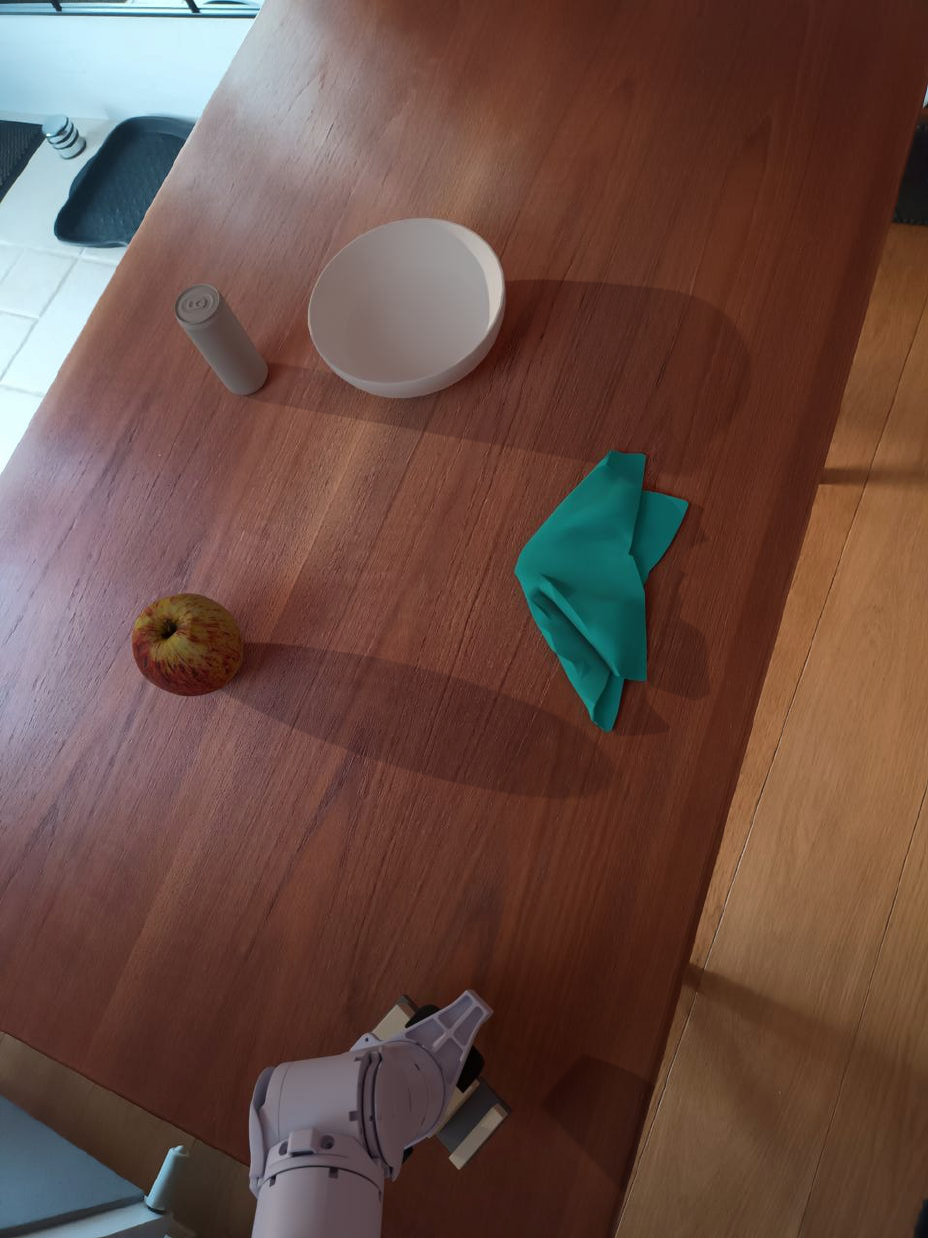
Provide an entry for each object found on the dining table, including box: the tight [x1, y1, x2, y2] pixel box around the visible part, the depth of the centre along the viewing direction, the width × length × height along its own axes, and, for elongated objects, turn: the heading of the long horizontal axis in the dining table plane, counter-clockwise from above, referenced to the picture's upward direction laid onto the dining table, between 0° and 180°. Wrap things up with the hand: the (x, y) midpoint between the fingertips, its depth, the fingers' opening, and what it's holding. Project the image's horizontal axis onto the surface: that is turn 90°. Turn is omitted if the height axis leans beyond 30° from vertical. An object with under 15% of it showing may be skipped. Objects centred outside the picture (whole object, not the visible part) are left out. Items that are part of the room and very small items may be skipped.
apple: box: [131, 592, 244, 697], centre depth 84 cm, size 9×9×10 cm
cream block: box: [368, 994, 514, 1171], centre depth 67 cm, size 11×5×4 cm, turn 46°
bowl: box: [307, 217, 507, 399], centre depth 94 cm, size 20×20×6 cm
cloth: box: [514, 449, 689, 732], centre depth 83 cm, size 26×14×2 cm, turn 162°
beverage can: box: [173, 282, 269, 396], centre depth 94 cm, size 5×5×12 cm
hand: (431, 1077), depth 68 cm, fingers closed on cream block, 4 cm apart
